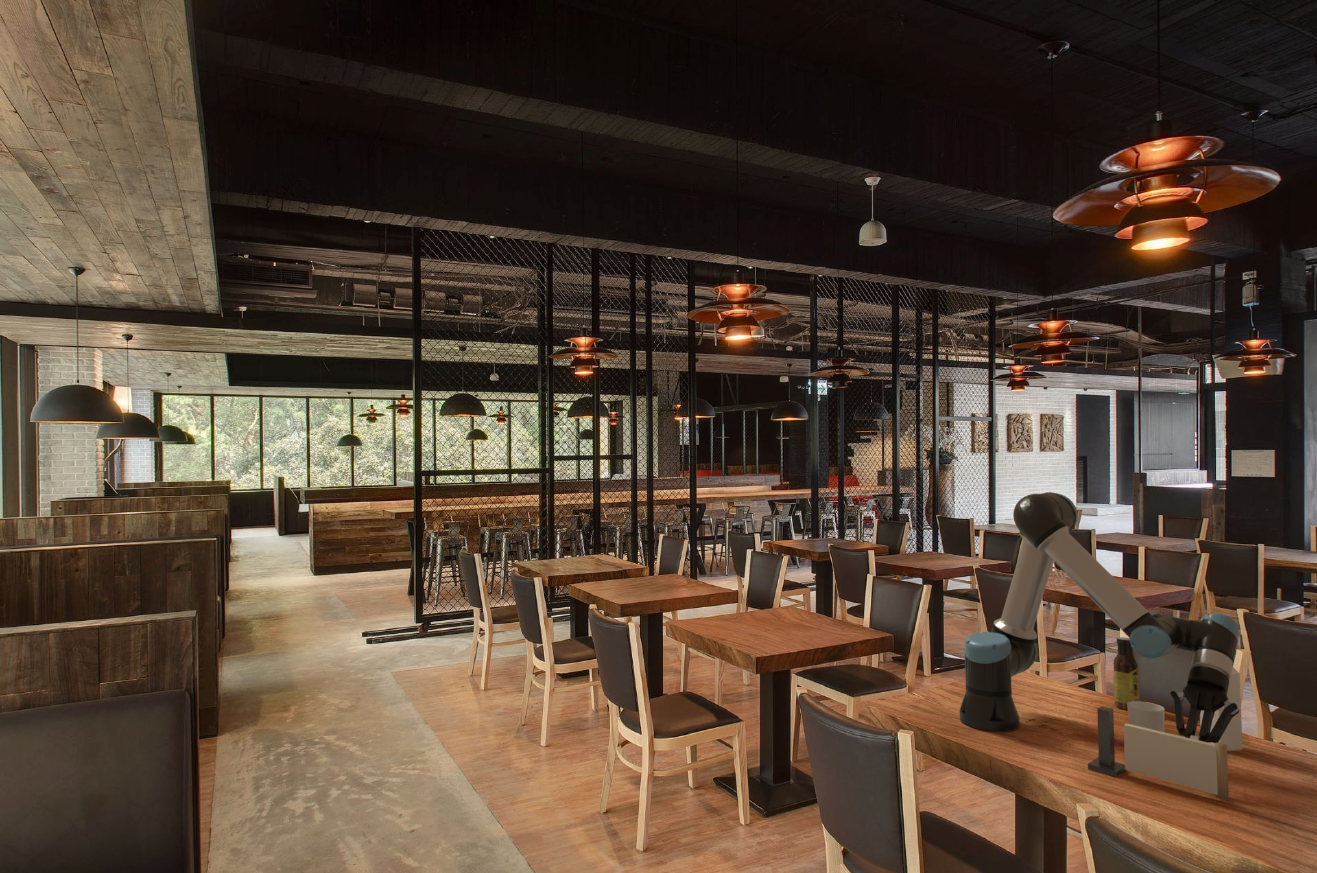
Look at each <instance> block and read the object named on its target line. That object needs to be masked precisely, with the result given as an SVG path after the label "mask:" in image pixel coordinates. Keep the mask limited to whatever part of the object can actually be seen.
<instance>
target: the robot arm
mask: <svg viewBox="0 0 1317 873" xmlns="http://www.w3.org/2000/svg"><path fill="white" fill-rule="evenodd" d="M1012 513H1013V515H1012V516H1013V520H1014V524H1015V527H1016V528H1017V529H1018V531H1019V536H1020V538H1022V541H1023V542H1022V545H1021V548H1020V551H1019V554H1018V557H1017V558H1018V559H1017V562H1016V565H1015V568H1014V573H1013V576H1012V579H1011V582H1010V587H1009V590H1008V591H1007V592H1008V593H1007V596H1006V599H1005V604H1004V606H1003V607H1004V608H1003V609H1002V614H1001V617H1000V618H998V619H995V620H994V621H993V623H992V628H991V631H981V632H976V633H975V632H974V633H972V634H969V635H968V636H967V637H966V638H965V640H964V648H963V653H964V670H965V671H964V672H965V673H964V676H965V692H964V696H963V698H962V702H961V705H960V708H959V721H960V722H961V723H963V724H964V725H966V726H968V727H971V728H974V729H978V730H982V731H989V732H1012V731H1015V730H1018V729H1019V728H1020V726H1021V723H1020V716H1019V713H1018V710H1017V707H1016V705H1015V704H1016V703H1015V702H1014V699H1013V695H1012V694H1013V693H1012V689H1013V688H1012V677H1014V676H1016V675H1019V674H1022V673H1024V672H1026V671H1028V670H1029V669H1030V668H1031V667H1032V665H1034V663H1035V662H1036V659H1037V655H1038V649H1037V645H1036V642H1037V638H1038V634H1037V632H1036V631H1035V629H1034V627H1035V624H1036V620H1037V617H1038V614H1039V610H1040V608H1041V604H1042V600H1043V597H1044V594H1045V590H1046V588H1047V587H1046V586H1047V583H1048V580H1049V576H1050V573H1051V569H1052V566H1053V563H1055V564H1056V565H1057V566H1058V567H1060V568H1059V569H1061V570H1062V571H1063V572H1064V573H1065V574H1066V575H1067V576H1068V577H1069V578H1070V579H1071V580H1072V581H1073V582H1074V584H1076V585H1077V586H1078V587H1079V588H1080V589H1081V590H1082V591H1083V592H1084V593H1085V594H1086V595H1087V596H1088V597H1089V598H1090V599H1091V600H1092V602H1094V604H1096V606H1098V607H1099V609H1101V610H1102V612H1103V613H1104V614H1106V616H1108V618H1109V619H1110V620H1111V621H1112V622H1113V623H1114V624H1115V625H1117V627H1118V628H1119V629H1120V630H1121V631H1122V632H1123V633H1124V634H1125V635H1126V636H1127V638H1130V644H1131V646H1132V648H1133V651H1134V652H1135V653H1136V654H1137V655H1138V656H1140V657H1143V658H1145V659H1157V658H1161V657H1165V656H1166V655H1168V654H1169V652H1170V651H1172V650H1174V649H1179V650H1184V651H1189V652H1193V654H1192V655H1193V656H1192V660H1191V663H1190V669H1189V673H1188V678H1187V681H1186V685H1185V686H1184V687H1183V688H1182V691H1177V692H1176V691H1175V690H1173V691H1170V696H1171V699H1172V700H1173V703H1174V705H1173V706H1174V715H1175V726H1176V727H1175V728H1176V730H1177V731H1178V735H1179V736H1182V737H1186V738H1190V739H1194V740H1199V741H1203V742H1207V743H1210V742H1213V743H1218V742H1219V740H1220V738H1221V737H1222V735H1223V733H1224V731H1225V730H1226V728H1227V726H1228V724H1229V723H1230V721H1231V719H1232V718H1233V717H1234V716H1235V715H1237V714H1238V713H1239V709H1238V707H1237V704H1235V703H1231V702H1230V701H1229V700H1228V697H1227V692H1228V687H1229V679H1230V676H1231V671H1232V666H1233V665H1234V664H1233V663H1234V659H1235V655H1236V650H1237V646H1238V643H1239V640H1238V637H1239V629H1240V627H1239V625H1238V623H1237V622H1236V621H1235V620H1234V619H1233V618H1231V617H1230V616H1227V614H1226V615H1225V614H1222V613H1218V612H1212V613H1205V614H1203V616H1202V617H1201V618H1200V620H1197V619H1193V620H1192V619H1187V618H1181V617H1176V616H1170V615H1165V614H1164V615H1163V614H1161V613H1152V612H1151V613H1150V612H1149V611H1148V609H1146V608H1145V607H1144V605H1142V603H1140V601H1138V600H1137V598H1135V597H1134V596H1133V595H1132V593H1131V592H1129V590H1128V589H1126V588H1125V587H1124V586H1123V585H1122V584H1121V583H1120V581H1118V580H1117V579H1116V577H1114V576H1113V575H1112V574H1111V573H1110V572H1109V571H1108V570H1107V569H1106V568H1105V567H1104V566H1103V565H1102V564H1101V563H1100V562H1099V561H1098V560H1097V559H1096V558H1095V557H1094V556H1093V555H1092V554H1091V553H1090V552H1089V551H1088V550H1087V549H1085V548H1084V547H1083V546H1082V544H1081V543H1079V542H1078V541H1077V539H1075V538H1074V537H1073V536H1072V534H1070V531H1072V530H1073V529H1074V527H1075V526H1076V525H1077V523H1078V518H1079V513H1078V510H1077V507H1076V505H1075V502H1073V501H1072V500H1071V499H1070V498H1069V497H1068V496H1066V495H1063V494H1062V493H1058V492H1051V491H1047V492H1043V493H1042V492H1041V493H1032V494H1031V493H1030V494H1028V495H1025V496H1023V497H1022V498H1020V499H1019V500H1018V501H1017V503H1016V504H1015V506H1014V509H1013V512H1012ZM1233 667H1234V666H1233ZM1184 699H1186V700H1187V702H1188V703H1189V704H1190V709H1189V714H1188V718H1187V721H1186V725H1185V717H1184V707H1183V706H1184V705H1183V704H1182V703H1184V702H1185V700H1184ZM1223 706H1224V710H1223V711H1222V713H1221V715H1220V717H1219V718H1218V720H1217V722H1216V724H1215V725H1214V727H1213V729H1212V731H1211V732H1210V730H1211V725H1212V720H1213V718H1214V714H1215V711H1217V710H1218V709H1220V708H1222V707H1223ZM1201 710H1204V713H1203V718H1202V723H1201V728H1200V729H1199V732H1198V736H1196V732H1197V729H1198V722H1199V720H1200V713H1201Z"/></svg>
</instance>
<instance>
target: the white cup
mask: <svg viewBox="0 0 1317 873" xmlns="http://www.w3.org/2000/svg"><path fill="white" fill-rule="evenodd" d="M1127 707H1128V710H1127V717H1128V718H1127V720H1128V724H1131V725H1135V726H1139V727H1144V728H1148V729H1152V730H1156V731H1161V732H1165V719H1166V718H1165V711H1166V710H1165V707H1163V706H1162V705H1159V704H1156V703H1152V702H1147V701H1141V700H1140V701H1132V702H1128V703H1127Z"/></svg>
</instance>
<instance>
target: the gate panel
mask: <svg viewBox="0 0 1317 873" xmlns="http://www.w3.org/2000/svg"><path fill="white" fill-rule="evenodd" d="M1123 740H1124V741H1123V742H1124V743H1123V744H1124V745H1123V746H1124V747H1123V748H1124V764H1125V769H1126V771H1128V772H1130V771H1131V772H1133V773H1137V774H1140V775H1144V776H1148V777H1150V778H1151V777H1152V778H1155V779H1158V780H1162V781H1165V782H1169V783H1172V784H1176V785H1179V786H1184V787H1187V788H1191V789H1194V790H1198V791H1202V792H1204V793H1205V792H1206V793H1208V794H1211V795H1215V796H1216V797H1217V798H1218V799H1221V800H1223V801H1224V800H1225V801H1229V800H1230V798H1229V795H1230V794H1229V770H1228V769H1229V767H1228V765H1229V764H1228V751H1227V745H1226V744H1223V743H1215V744H1211V743H1207V742H1203V741H1199V740H1194V739H1190V738H1186V737H1185V736H1182V735H1179V734H1178V735H1177V734H1174V733H1169V732H1165V731H1164V732H1161V731H1156V730H1152V729H1148V728H1144V727H1139V726H1135V725H1131V724H1129V723H1127V722H1126V723H1124V724H1123Z"/></svg>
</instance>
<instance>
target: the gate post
mask: <svg viewBox="0 0 1317 873" xmlns="http://www.w3.org/2000/svg"><path fill="white" fill-rule="evenodd" d="M1096 711H1097V740H1098V756H1097V757H1095V758H1094V759H1093V760H1092V761H1090V762H1088V763H1087V770H1090V771H1094V772H1097V773H1100V774H1104V775H1107V776H1111V777H1114V778H1118V777H1119V776H1120V775H1122V774H1124V773H1125V772H1126V771H1127V770H1126V769H1125V763H1122V762H1116V758H1115V757H1116V755H1115V754H1116V753H1115V751H1116V750H1115V748H1116V747H1115V725H1114V724H1115V723H1114V722H1115V719H1114V718H1115V717H1114V708H1111V707H1108V706H1103V705H1101V706H1100V707H1097V710H1096Z"/></svg>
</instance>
